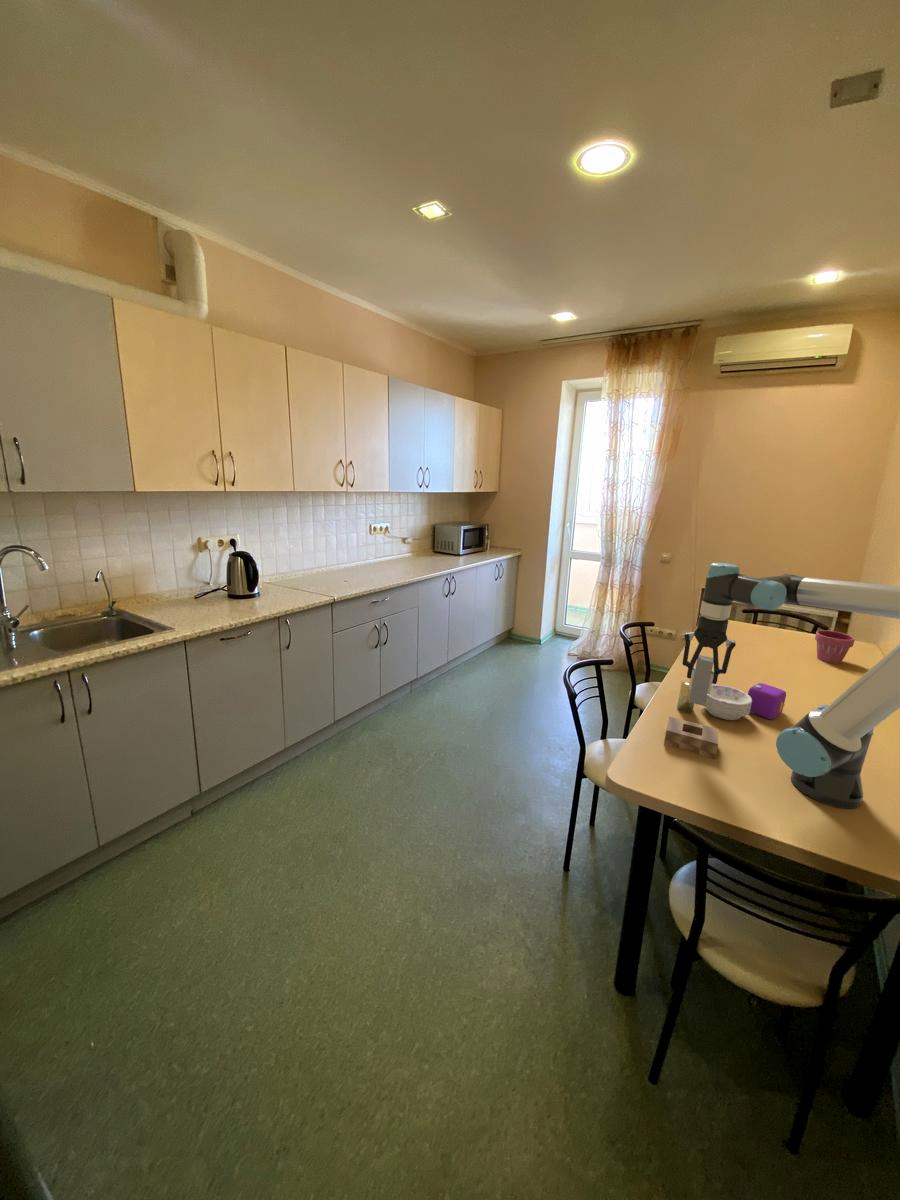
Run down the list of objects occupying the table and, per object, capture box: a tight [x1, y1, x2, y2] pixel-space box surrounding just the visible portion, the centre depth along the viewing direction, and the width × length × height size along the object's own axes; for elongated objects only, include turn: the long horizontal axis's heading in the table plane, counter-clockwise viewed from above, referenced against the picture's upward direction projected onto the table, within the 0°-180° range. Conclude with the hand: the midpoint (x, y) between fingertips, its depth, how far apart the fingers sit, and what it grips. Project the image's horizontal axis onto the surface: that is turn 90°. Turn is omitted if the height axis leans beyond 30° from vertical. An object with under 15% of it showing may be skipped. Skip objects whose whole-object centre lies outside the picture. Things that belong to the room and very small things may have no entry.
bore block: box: [663, 716, 719, 760], centre depth 145 cm, size 14×10×5 cm
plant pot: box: [814, 629, 856, 664], centre depth 222 cm, size 14×14×13 cm
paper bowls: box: [704, 684, 752, 721], centre depth 165 cm, size 15×15×8 cm
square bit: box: [689, 654, 714, 707], centre depth 141 cm, size 4×4×14 cm
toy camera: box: [747, 682, 787, 720], centre depth 168 cm, size 11×14×10 cm
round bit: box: [676, 680, 695, 714], centre depth 167 cm, size 5×5×10 cm
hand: (699, 690), depth 142 cm, fingers closed on square bit, 4 cm apart
